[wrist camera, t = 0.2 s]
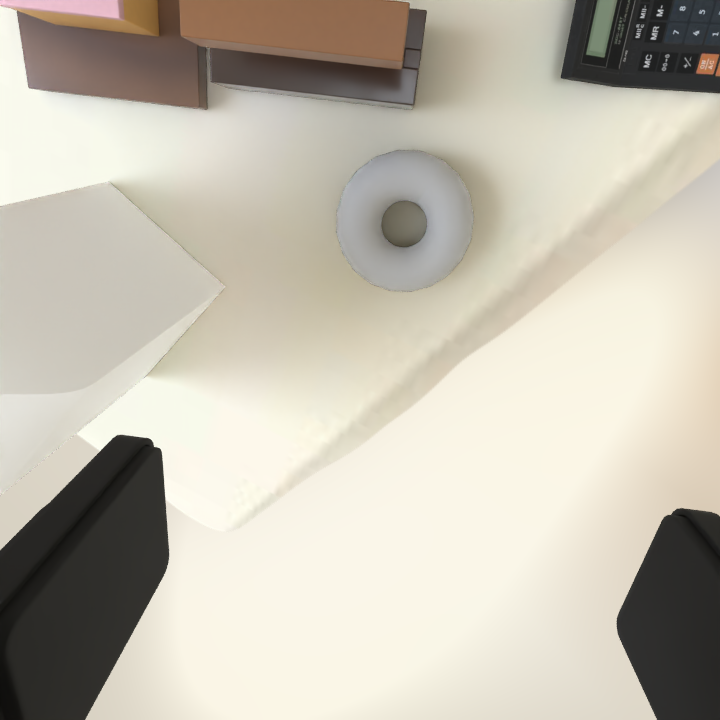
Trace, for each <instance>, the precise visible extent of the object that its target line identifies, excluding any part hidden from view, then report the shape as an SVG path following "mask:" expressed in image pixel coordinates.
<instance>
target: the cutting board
mask: <svg viewBox="0 0 720 720" xmlns="http://www.w3.org/2000/svg"><path fill="white" fill-rule="evenodd" d="M17 16H18V22H19V29H20V35H21V42H22V48H23V55H24V61H25V68H26V74H27V81H28V87H29V88H31V89H37V90H43V91H52V92H60V93H69V94H77V95H86V96H94V97H103V98H111V99H120V100H128V101H137V102H145V103H154V104H162V105H171V106H179V107H188V108H196V109H205V110H206V109H207V88H206V47H201V46H199V45H197V44H195V43H193V42H191V41H189V40H187V39H186V38H184V37H182V36H181V30H180V4H179V0H158V19H159V36H150V35H141V34H132V33H124V32H115V31H106V30H98V29H89V28H80V27H72V26H63V25H55V24H52V23H50V22H47V21H44V20H41V19H39V18H36V17H33V16H30V15H28V14H25V13H22V12H19V11H17Z"/></svg>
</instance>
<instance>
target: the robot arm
mask: <svg viewBox="0 0 720 720" xmlns="http://www.w3.org/2000/svg"><path fill="white" fill-rule="evenodd" d="M168 560H169V545H168V532H167V518H166V503H165V489H164V475H163V461H162V452H161V450H160V448H157V447H154V445H153V442H152V440H151V439H149V438H141V437H134V436H126V435H117V436H116V437H114V438H113V439H112V440H111V441H110V442H109V443H108V444H107V445H106V446H105V447H104V448H103V449H102V450H101V451H100V452H99V453H98V454H97V455H96V456H95V457H94V458H93V459H92V460H91V461H90V462H89V463H88V464H87V465H86V467H84V468H83V469H82V470H81V471H80V472H79V474H77V475H76V476H75V477H74V479H72V481H70V482H69V484H68V485H67V486H66V487H65V488H64V489H63V490H62V491H61V492H60V493H59V494H58V495H57V496H56V497H55V498H54V499H53V500H52V501H51V502H50V503H49V504H47V505H46V506H45V507H44V508H42V509H41V510H40V511H39V512H38V513H37V514H36V515H35V516H34V517H33V518H32V519H31V520H30V521H29V522H28V523H27V524H26V525H25V526H24V527H23V528H22V529H21V530H20V531H19V532H18V533H17V534H16V535H15V536H14V537H13V538H12V539H11V540H10V541H9V542H8V543H7V544H6V545H5V546H4V547H3V548H2V549H1V550H0V720H85V719H86V717H87V715H88V713H89V711H90V710H91V708H92V706H93V704H94V702H95V700H96V698H97V697H98V695H99V693H100V691H101V689H102V688H103V686H104V684H105V682H106V680H107V679H108V677H109V675H110V673H111V671H112V669H113V667H114V666H115V664H116V662H117V660H118V658H119V657H120V654H121V653H122V651H123V649H124V647H125V645H126V643H127V642H128V640H129V638H130V636H131V635H132V633H133V631H134V629H135V627H136V625H137V624H138V622H139V620H140V618H141V616H142V615H143V613H144V611H145V609H146V607H147V605H148V604H149V602H150V600H151V598H152V596H153V594H154V593H155V591H156V589H157V587H158V585H159V583H160V582H161V580H162V578H163V576H164V574H165V572H166V569H167V565H168ZM617 631H618V635H619V638H620V640H621V642H622V645H623V647H624V649H625V651H626V653H627V655H628V658H629V660H630V662H631V664H632V666H633V668H634V671H635V673H636V675H637V677H638V679H639V682H640V684H641V686H642V688H643V690H644V692H645V694H646V697H647V699H648V701H649V703H650V705H651V708H652V710H653V712H654V714H655V716H656V718H657V720H720V516H719V515H717V514H715V513H712V512H706V511H699V510H691V509H683V508H680V509H676V510H675V511H673V513H672V514H671V515H667V516H666V517H664V519H663V520H662V522H661V524H660V526H659V528H658V530H657V532H656V534H655V537H654V539H653V541H652V543H651V545H650V547H649V550H648V552H647V554H646V556H645V558H644V561H643V563H642V565H641V567H640V569H639V571H638V573H637V575H636V577H635V579H634V582H633V584H632V586H631V588H630V590H629V592H628V595H627V597H626V599H625V601H624V603H623V605H622V608H621V609H620V612H619V614H618V617H617Z"/></svg>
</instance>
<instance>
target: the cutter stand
mask: <svg viewBox="0 0 720 720" xmlns="http://www.w3.org/2000/svg"><path fill="white" fill-rule="evenodd" d="M426 14H427V11H426V10H419V9H410V8H409V16H408V25H407V33H406V41H405V49H404V57H403V58H404V61H403V67H402V69H401V70H400V69H392V68H383V67H374V66H366V65H357V64H348V63H340V62H331V61H322V60H314V59H305V58H296V57H288V56H279V55H270V54H262V53H253V52H244V51H236V50H227V49H218V48H210V68H211V82H213V83H215V84H218V85H221V86H224V87H226V88H230V89H238V90H247V91H255V92H264V93H273V94H281V95H290V96H298V97H307V98H315V99H324V100H332V101H341V102H349V103H358V104H367V105H375V106H384V107H392V108H401V109H409V110H412V108H413V106H414V102H415V94H416V87H417V80H418V72H419V65H420V58H421V50H422V43H423V36H424V28H425V21H426Z"/></svg>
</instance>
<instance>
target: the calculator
mask: <svg viewBox="0 0 720 720" xmlns="http://www.w3.org/2000/svg"><path fill="white" fill-rule="evenodd" d="M561 78H562V79H568V80H574V81H581V82H587V83H593V84H600V85H606V86H612V87H626V88H643V89H659V90H675V91H692V92H708V93H720V0H576V4H575V9H574V14H573V19H572V24H571V29H570V34H569V39H568V44H567V49H566V54H565V59H564V63H563V68H562V73H561Z"/></svg>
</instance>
